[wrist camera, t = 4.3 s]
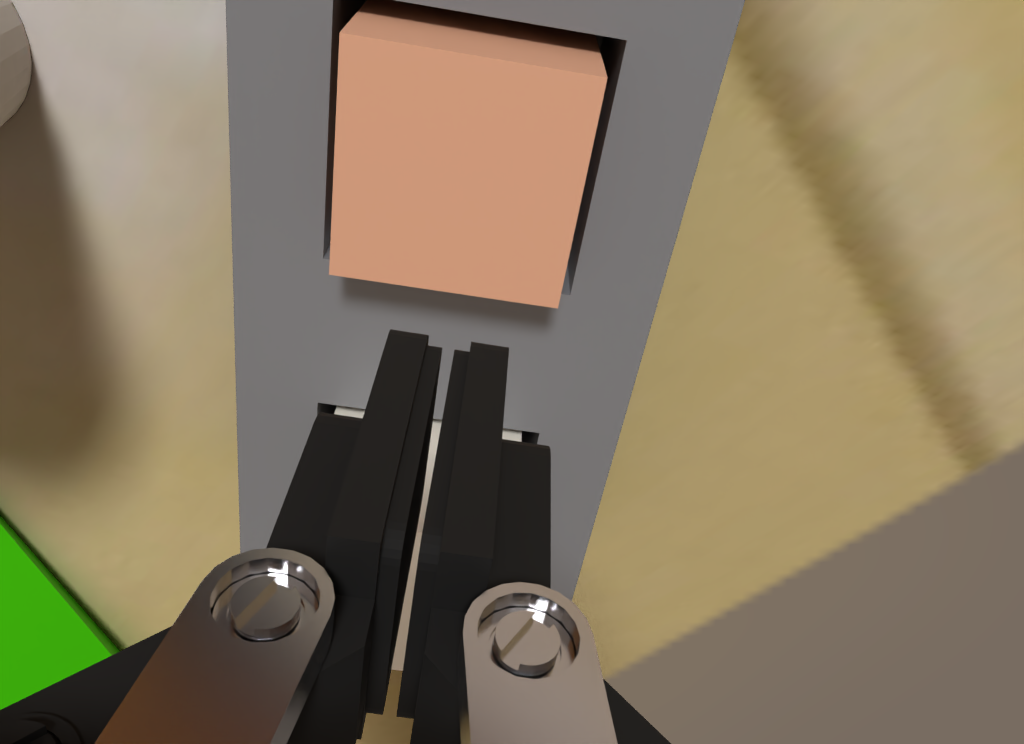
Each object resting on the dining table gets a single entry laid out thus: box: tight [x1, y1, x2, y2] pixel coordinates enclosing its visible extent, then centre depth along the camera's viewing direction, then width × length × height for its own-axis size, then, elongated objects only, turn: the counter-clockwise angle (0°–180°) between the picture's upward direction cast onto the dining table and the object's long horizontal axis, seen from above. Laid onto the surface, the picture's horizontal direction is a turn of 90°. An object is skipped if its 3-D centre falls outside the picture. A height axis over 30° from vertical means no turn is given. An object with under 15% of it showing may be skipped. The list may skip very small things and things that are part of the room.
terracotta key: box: [329, 0, 608, 309], centre depth 23 cm, size 6×6×6 cm
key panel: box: [226, 0, 745, 601], centre depth 28 cm, size 12×24×6 cm, turn 171°
